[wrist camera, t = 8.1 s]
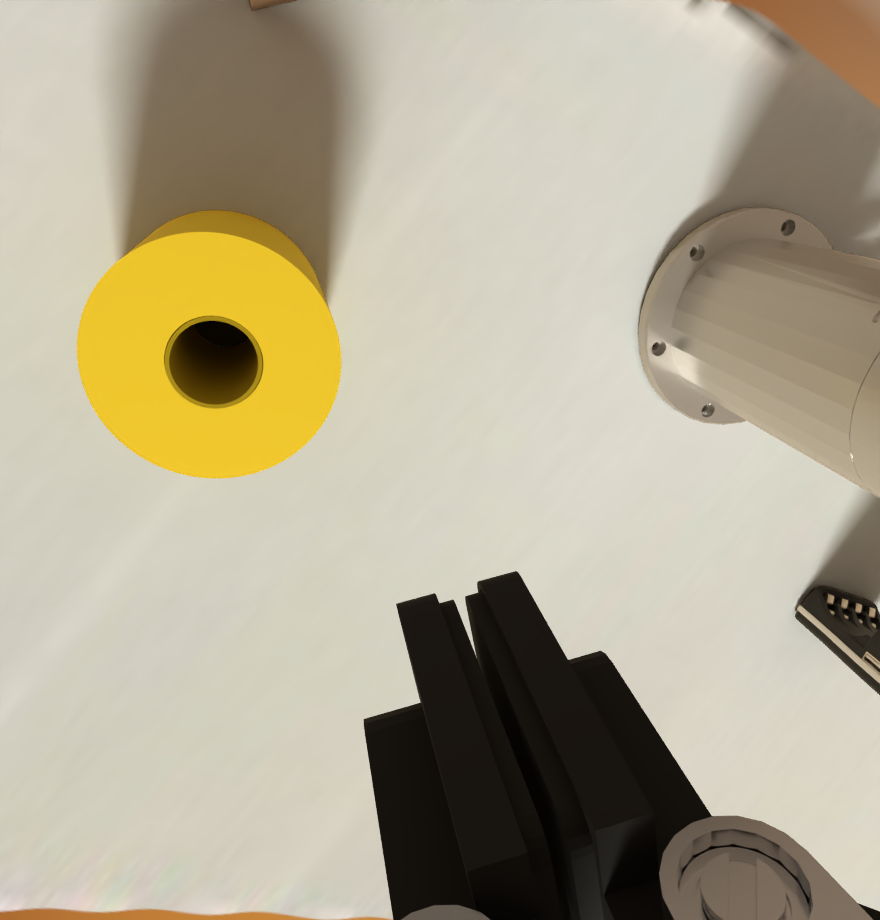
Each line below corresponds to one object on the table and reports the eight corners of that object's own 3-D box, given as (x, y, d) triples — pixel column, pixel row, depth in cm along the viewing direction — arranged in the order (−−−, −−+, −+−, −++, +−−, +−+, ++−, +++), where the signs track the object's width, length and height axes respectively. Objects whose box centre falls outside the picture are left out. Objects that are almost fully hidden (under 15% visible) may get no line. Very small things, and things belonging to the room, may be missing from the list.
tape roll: (174, 168, 35) (145, 177, 27) (359, 276, 39) (385, 315, 30) (86, 350, 37) (34, 412, 29) (269, 436, 41) (270, 514, 33)
